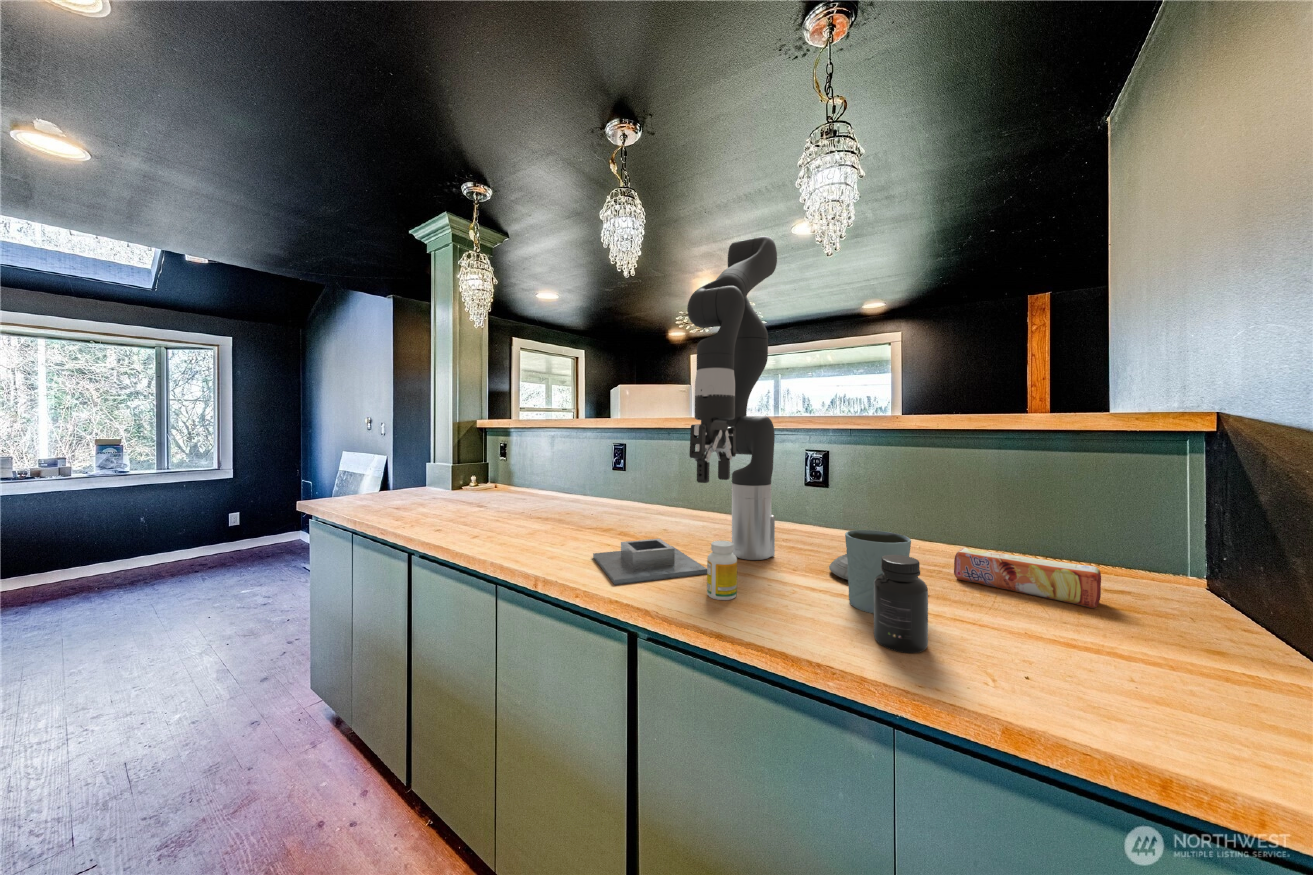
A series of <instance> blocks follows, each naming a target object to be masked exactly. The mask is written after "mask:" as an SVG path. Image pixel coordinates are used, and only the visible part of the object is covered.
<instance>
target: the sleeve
mask: <svg viewBox="0 0 1313 875" xmlns="http://www.w3.org/2000/svg"><path fill="white" fill-rule="evenodd" d="M592 559H593V560H595V562H596V563H597V564H598V566H599V567H600V568H601V570H602V571H603V572H604V574H606V576H607V577H608V578H609V580H610V581H611V582H612V584H613V585H614V586H619V585H626V584H634V583H644V582H652V581H659V580H668V579H674V578H675V579H676V578H684V577H692V576H700V575H707V567H705V566H704V565H702V564H700V563H699V562H697V561H696V560H695V559H693V558H691V557H690V556H689V555H687V554H686V553H684V552H682V551H681V550H679V549H678V548H676V547H675V546H673V545H670V544H668V543H667V542H666V541H664V540H663V539H661V538H651V539H640V540H638V539H637V540H629V541H628V540H627V541H620V550H615V551H605V552H594V553H592Z"/></svg>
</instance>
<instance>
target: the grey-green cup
mask: <svg viewBox="0 0 1313 875" xmlns="http://www.w3.org/2000/svg"><path fill="white" fill-rule="evenodd" d="M844 538H845V548H846V554H847V560H848V568H847V570H848V579H849V580H847V582H848V601H849V604H850V605H851V606H852V607H854V608H855V609H857V610H860V611H862V612H866V613H869V614H873V615H874V580H875V578H876V577H877V576H878V575H879V574H882V573H883V572H882V571H881V558H882V557H883V556H885V555H903V556H908V557H910V553H911V546H912V545H911V544H912V540H911V538H910V537H908V536H907V535H903V534H900V533H895V532H890V531H885V530H884V531H883V530H876V529H874V530H873V529H872V530H871V529H853V530H847V531H846V532H845V534H844Z"/></svg>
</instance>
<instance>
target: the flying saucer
mask: <svg viewBox="0 0 1313 875" xmlns="http://www.w3.org/2000/svg"><path fill="white" fill-rule="evenodd" d="M847 568H848V560H847V553H845V554H843V555H840V556H838V557H836V558H835V559H834V560H833V561H831V563H830V564H829V566H828V569H829V570H830V572H831V573H832V574H834V575H835V576H837V577H839V578H841V579H843V580H847V581H848V580H849V579H848V570H847Z"/></svg>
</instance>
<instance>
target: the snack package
mask: <svg viewBox="0 0 1313 875" xmlns="http://www.w3.org/2000/svg"><path fill="white" fill-rule="evenodd" d="M953 564H954V565H953V566H954V568H953V574H954V576H955V577H954V578H956V579H957V580H959V581H964V582H968V583H974V584H979V585H984V586H987V587H988V586H989V587H993V588H997V589H1002V590H1007V591H1011V592H1017V593H1020V594H1025V595H1029V596H1030V595H1031V596H1035V597H1041V598H1045V599H1050V600H1054V601H1055V600H1056V601H1060V602H1063V603H1064V602H1065V603H1069V604H1072V605H1073V604H1074V605H1077V606H1080V607H1081V606H1082V607H1086V608H1090V609H1095V608H1097V607H1098V605H1099V604H1100V601H1101V596H1102V591H1101V590H1102V587H1101V586H1102V575H1101V574H1102V573H1101V571H1100V568H1098V567H1096V566H1094V565H1082V564H1077V563H1069V562H1063V561H1055V560H1048V559H1047V560H1046V559H1041V558H1033V557H1028V556H1022V555H1021V556H1020V555H1012V554H1008V553H999V552H994V551H985V550H977V549H970V548H966V547H962V548H960V549H959V550H957V552H956V553H955V555H954V563H953Z"/></svg>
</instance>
